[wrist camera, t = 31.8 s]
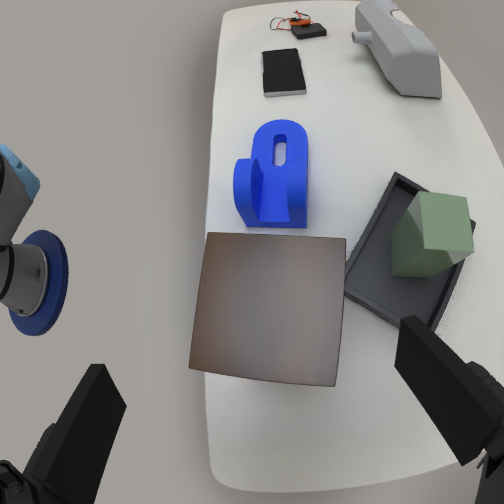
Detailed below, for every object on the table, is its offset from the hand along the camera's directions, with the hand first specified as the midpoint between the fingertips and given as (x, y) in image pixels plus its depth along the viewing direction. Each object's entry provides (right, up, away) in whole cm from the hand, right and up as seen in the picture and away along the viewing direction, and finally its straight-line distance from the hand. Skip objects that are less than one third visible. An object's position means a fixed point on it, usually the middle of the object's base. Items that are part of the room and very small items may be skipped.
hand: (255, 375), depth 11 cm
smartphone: (+6, +41, +38) cm, 56 cm away
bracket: (+4, +17, +31) cm, 36 cm away
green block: (+21, +5, +23) cm, 32 cm away
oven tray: (+21, +5, +24) cm, 32 cm away
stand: (+5, -4, +25) cm, 25 cm away
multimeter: (+10, +62, +44) cm, 77 cm away
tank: (+29, +46, +35) cm, 64 cm away
